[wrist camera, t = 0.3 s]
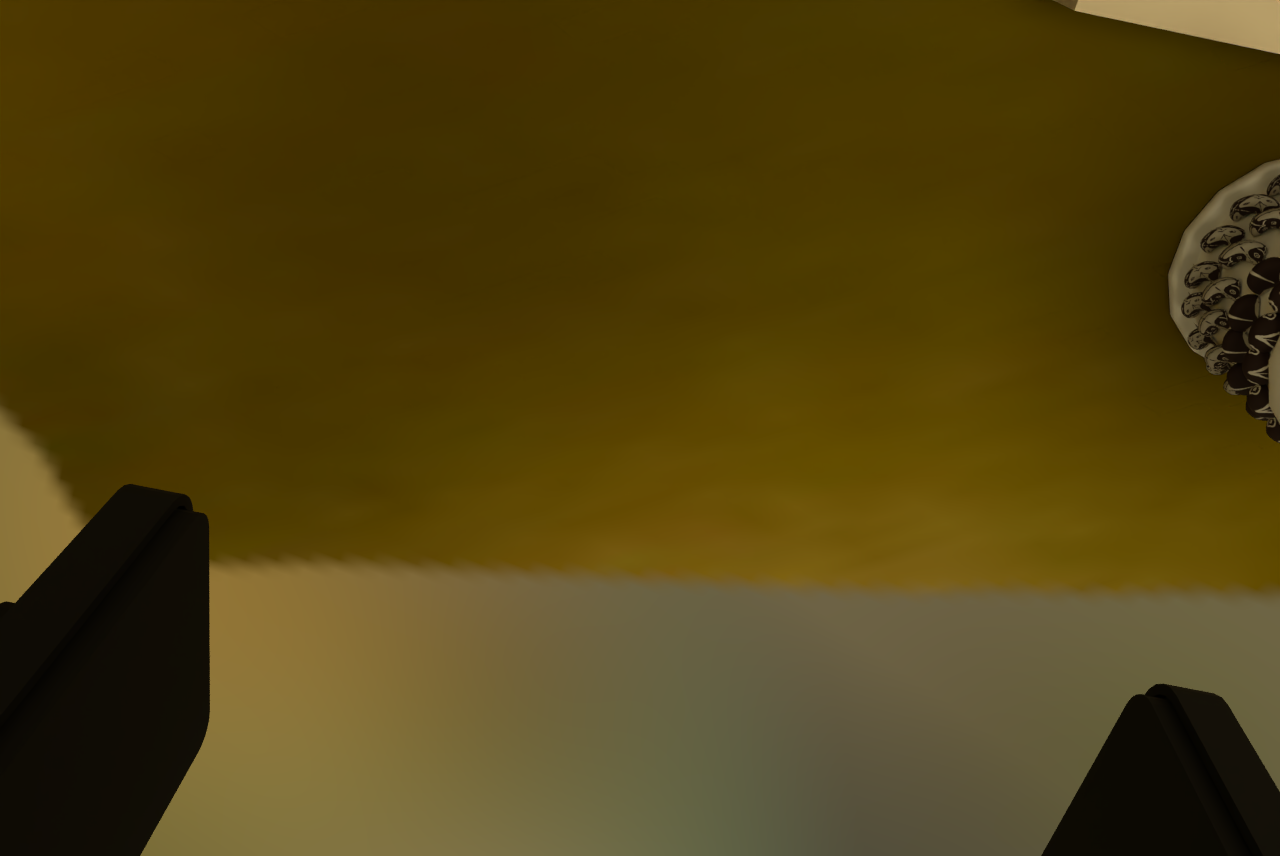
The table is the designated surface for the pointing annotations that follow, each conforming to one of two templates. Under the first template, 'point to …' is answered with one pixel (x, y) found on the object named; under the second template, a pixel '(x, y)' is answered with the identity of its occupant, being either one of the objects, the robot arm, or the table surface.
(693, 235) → the table surface
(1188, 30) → the beige brown rectangular block
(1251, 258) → the decorative candle
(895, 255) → the table surface
